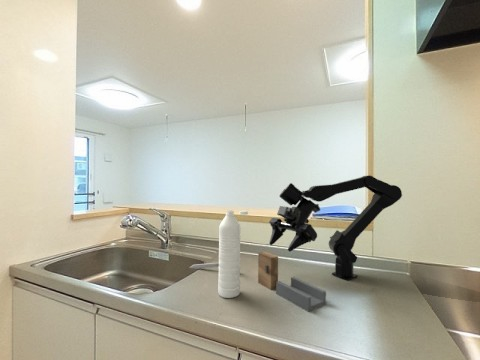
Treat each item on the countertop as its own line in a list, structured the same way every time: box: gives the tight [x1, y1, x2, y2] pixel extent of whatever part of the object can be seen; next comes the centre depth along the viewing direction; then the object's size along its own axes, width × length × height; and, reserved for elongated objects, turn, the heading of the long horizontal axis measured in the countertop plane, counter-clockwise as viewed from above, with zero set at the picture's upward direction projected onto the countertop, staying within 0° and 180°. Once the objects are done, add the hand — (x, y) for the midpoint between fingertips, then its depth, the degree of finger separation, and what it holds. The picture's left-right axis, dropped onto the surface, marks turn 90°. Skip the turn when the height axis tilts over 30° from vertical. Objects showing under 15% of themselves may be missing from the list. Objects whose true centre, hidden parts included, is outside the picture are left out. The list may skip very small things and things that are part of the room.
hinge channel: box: [275, 276, 327, 312], centre depth 68 cm, size 7×12×4 cm, turn 34°
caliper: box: [189, 261, 219, 270], centre depth 89 cm, size 20×1×6 cm, turn 73°
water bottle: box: [217, 210, 249, 299], centre depth 71 cm, size 9×6×25 cm
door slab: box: [257, 251, 279, 291], centre depth 77 cm, size 4×6×10 cm, turn 34°
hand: (279, 247), depth 80 cm, fingers open, 9 cm apart
